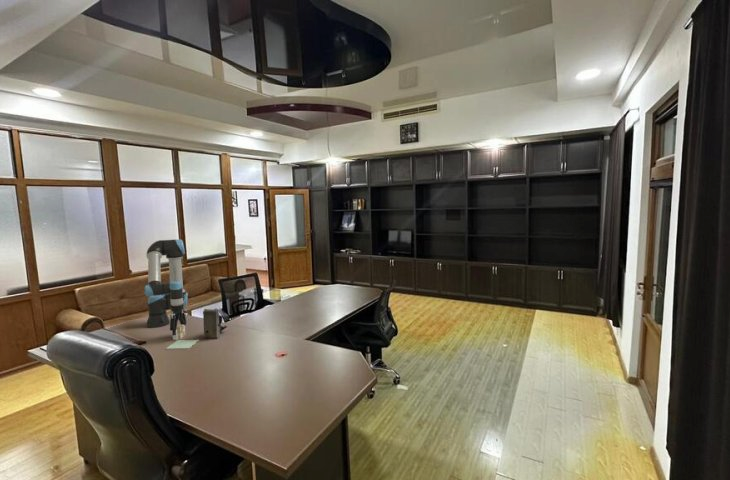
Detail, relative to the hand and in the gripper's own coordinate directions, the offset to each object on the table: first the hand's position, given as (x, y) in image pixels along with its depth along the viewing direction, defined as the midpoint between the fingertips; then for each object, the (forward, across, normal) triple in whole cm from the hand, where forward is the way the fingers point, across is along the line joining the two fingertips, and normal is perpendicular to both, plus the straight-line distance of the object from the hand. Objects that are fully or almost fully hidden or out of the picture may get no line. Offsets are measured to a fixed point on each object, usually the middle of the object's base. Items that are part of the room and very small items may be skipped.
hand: (179, 337), depth 232 cm
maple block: (0, 0, 0) cm, 0 cm away
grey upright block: (0, -3, +24) cm, 24 cm away
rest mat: (0, +14, +10) cm, 17 cm away
